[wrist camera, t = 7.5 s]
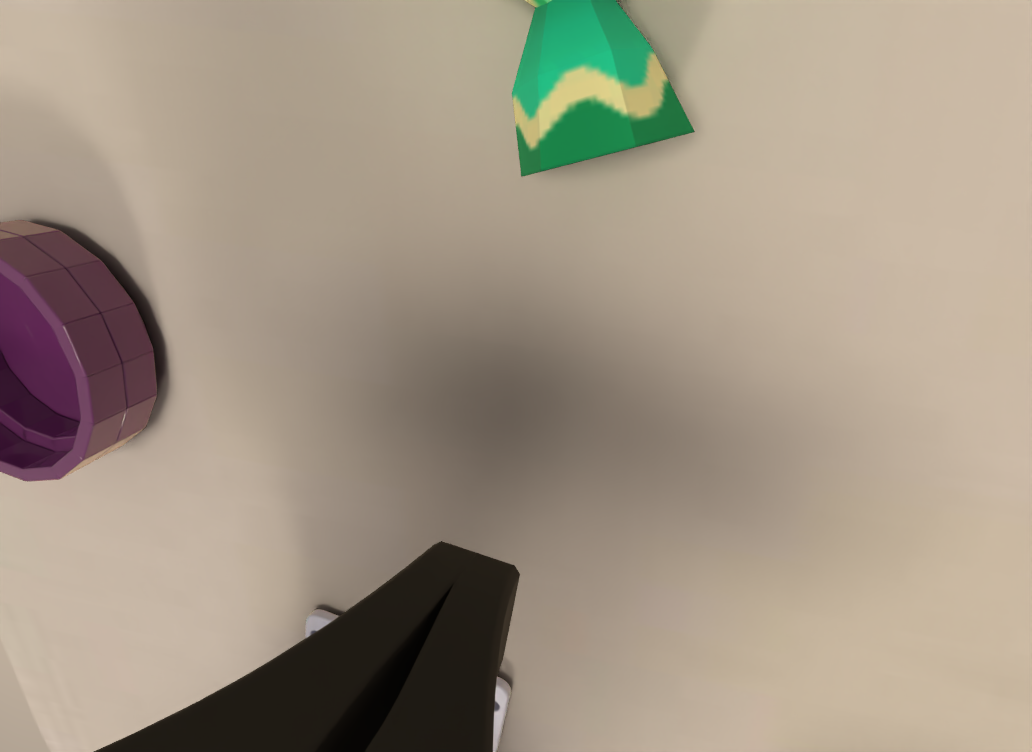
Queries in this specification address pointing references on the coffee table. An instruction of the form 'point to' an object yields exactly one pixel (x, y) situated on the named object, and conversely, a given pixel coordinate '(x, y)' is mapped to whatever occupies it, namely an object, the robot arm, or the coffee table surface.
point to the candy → (589, 87)
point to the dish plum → (66, 356)
